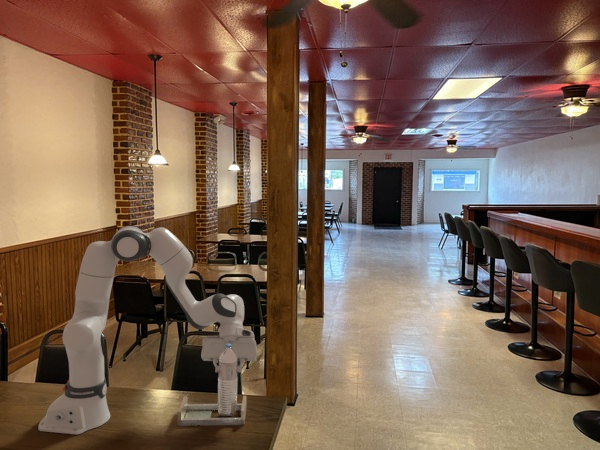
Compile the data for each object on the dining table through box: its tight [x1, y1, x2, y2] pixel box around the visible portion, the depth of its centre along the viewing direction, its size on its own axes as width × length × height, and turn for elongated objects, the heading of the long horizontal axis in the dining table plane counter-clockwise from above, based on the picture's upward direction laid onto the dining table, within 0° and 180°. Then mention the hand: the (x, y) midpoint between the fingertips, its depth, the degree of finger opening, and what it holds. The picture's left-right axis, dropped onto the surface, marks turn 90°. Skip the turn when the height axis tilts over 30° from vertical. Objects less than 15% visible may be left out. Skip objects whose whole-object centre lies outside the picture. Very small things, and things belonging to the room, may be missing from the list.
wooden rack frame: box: [176, 395, 247, 427], centre depth 161 cm, size 23×11×5 cm, turn 93°
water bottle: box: [217, 344, 238, 417], centre depth 160 cm, size 7×7×25 cm
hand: (228, 371), depth 159 cm, fingers closed on water bottle, 6 cm apart
